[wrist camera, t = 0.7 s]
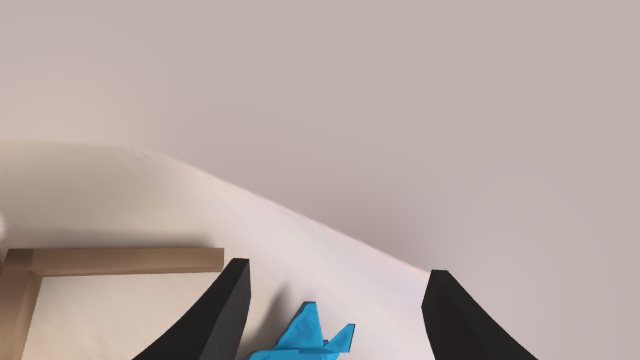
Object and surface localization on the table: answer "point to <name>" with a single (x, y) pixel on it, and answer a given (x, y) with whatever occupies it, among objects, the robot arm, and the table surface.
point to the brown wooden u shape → (33, 264)
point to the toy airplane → (306, 339)
